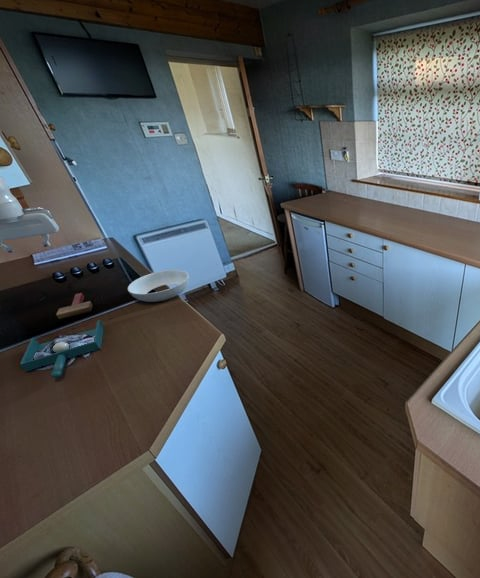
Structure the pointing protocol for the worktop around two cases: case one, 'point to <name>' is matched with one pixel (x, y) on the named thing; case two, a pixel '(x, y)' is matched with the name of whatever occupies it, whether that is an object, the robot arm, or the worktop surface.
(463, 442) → the worktop surface
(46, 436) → the worktop surface
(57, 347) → the paper wad
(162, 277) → the serving bowl
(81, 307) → the brush
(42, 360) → the dustpan
